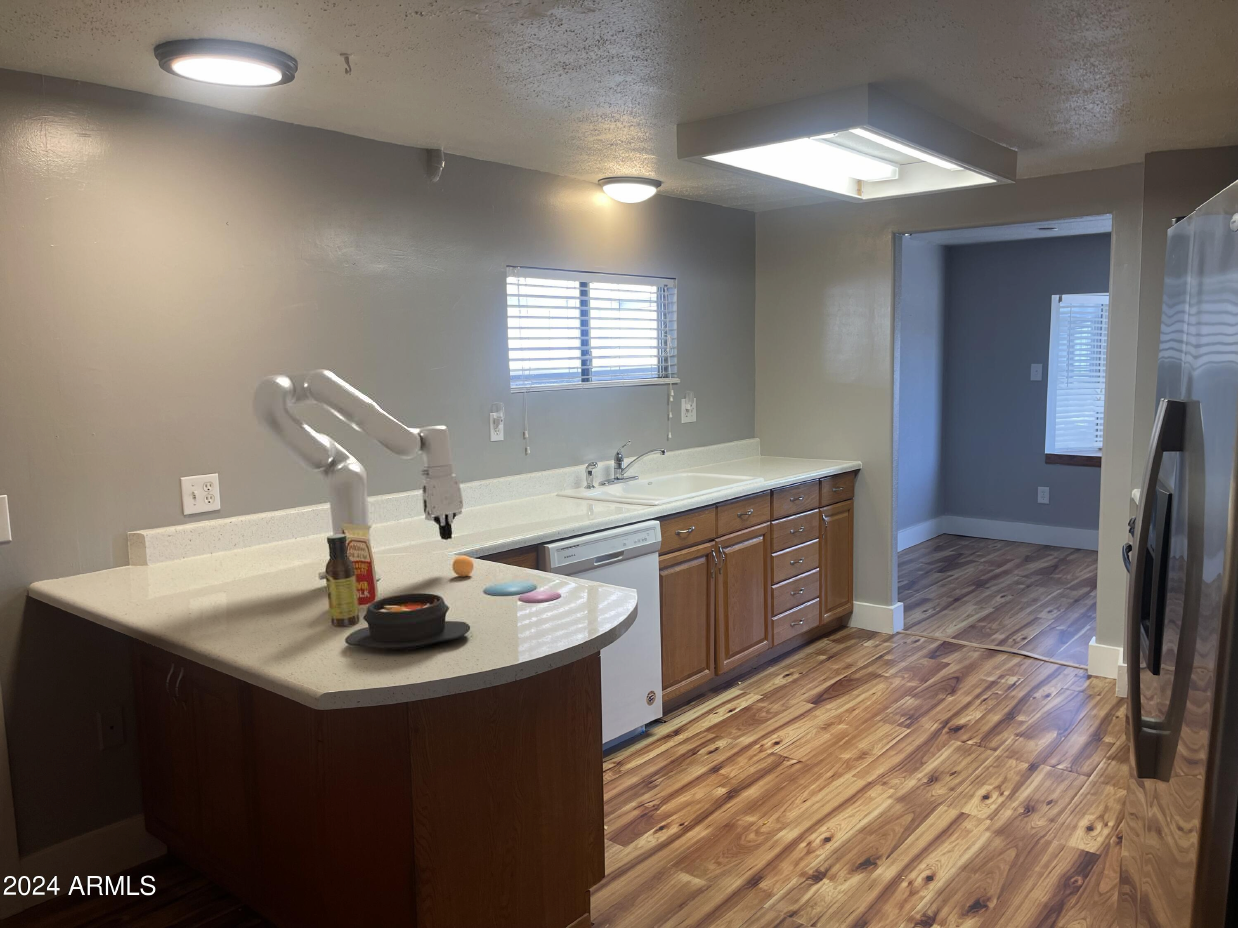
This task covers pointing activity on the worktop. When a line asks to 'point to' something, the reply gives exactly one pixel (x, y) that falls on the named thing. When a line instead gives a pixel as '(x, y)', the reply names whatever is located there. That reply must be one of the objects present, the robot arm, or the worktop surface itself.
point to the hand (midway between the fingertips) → (446, 538)
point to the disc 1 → (510, 588)
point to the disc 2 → (539, 596)
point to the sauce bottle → (341, 583)
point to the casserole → (407, 623)
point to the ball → (462, 566)
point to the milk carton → (362, 562)
